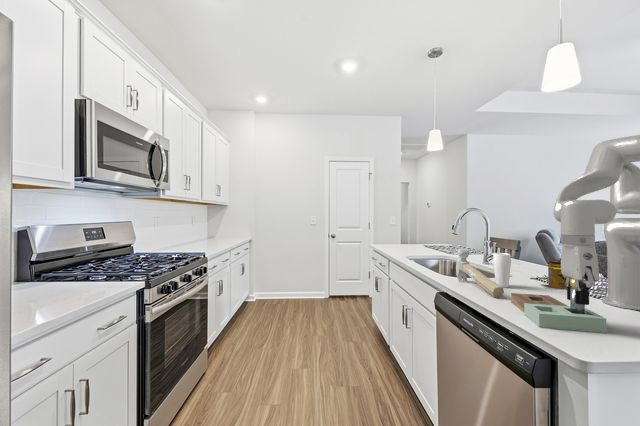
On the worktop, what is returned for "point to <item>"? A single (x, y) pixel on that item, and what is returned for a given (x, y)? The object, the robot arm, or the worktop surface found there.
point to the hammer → (475, 275)
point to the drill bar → (573, 306)
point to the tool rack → (564, 318)
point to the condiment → (555, 276)
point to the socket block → (533, 300)
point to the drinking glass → (502, 268)
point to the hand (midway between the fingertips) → (577, 301)
